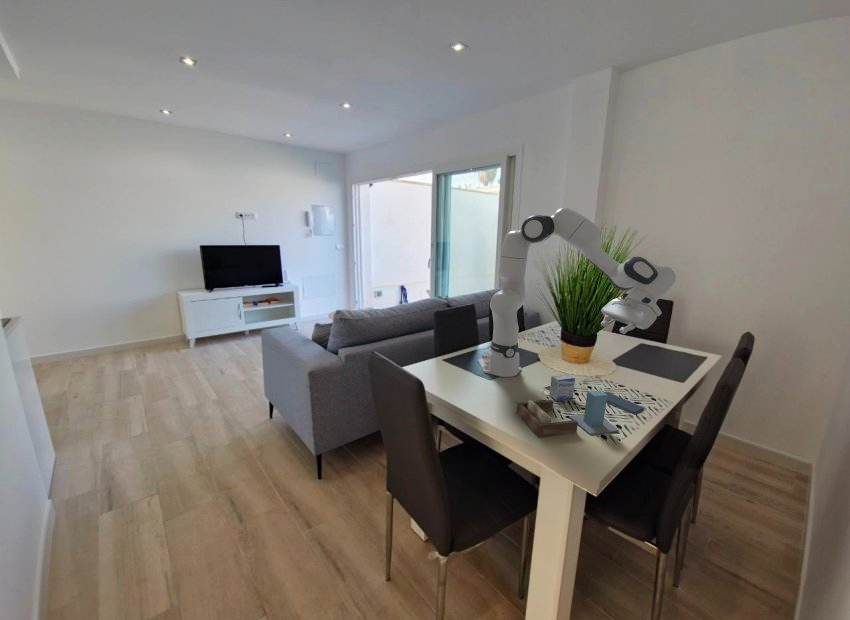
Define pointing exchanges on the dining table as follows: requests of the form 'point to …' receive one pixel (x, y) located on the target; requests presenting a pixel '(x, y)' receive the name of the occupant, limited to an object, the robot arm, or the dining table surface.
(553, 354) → the dining table surface
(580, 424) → the grey mat
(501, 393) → the dining table surface
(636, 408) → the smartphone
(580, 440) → the dining table surface
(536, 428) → the tray
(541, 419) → the offcut stack
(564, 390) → the medicine box
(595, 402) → the teal rectangular block
